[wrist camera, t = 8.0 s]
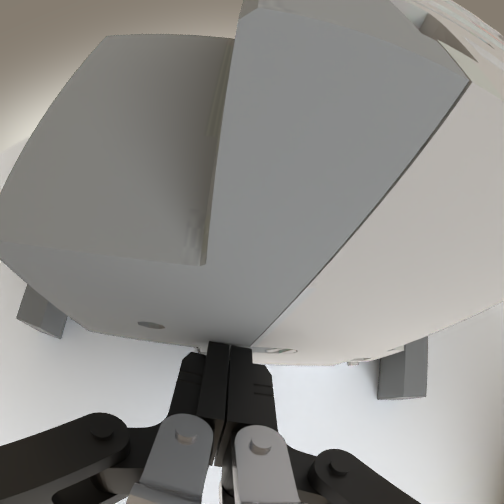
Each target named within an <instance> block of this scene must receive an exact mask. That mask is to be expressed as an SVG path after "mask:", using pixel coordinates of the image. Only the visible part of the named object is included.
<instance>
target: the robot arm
mask: <svg viewBox="0 0 504 504" xmlns="http://www.w3.org/2000/svg"><path fill="white" fill-rule="evenodd" d="M229 348H230V350H229ZM272 387H273V384H272V375H271V374H270V372H269V371H268V369H267V368H266V366H265V365H261V364H255V363H253V359H252V349H251V348H245V347H239V346H233V345H231V346H230V345H228V344H222V343H217V342H211V341H209V343H208V348H207V353H206V355H204V354H199V353H194V352H190V353H189V354H188V355H187V356H186V357H185V358H184V359H183V360H182V364H181V367H180V372H179V375H178V379H177V382H176V386H175V390H174V394H173V398H172V402H171V405H170V409H169V413H168V415H167V417H166V418H165V419H164V420H163V421H162V422H161V423H159V424H157V425H155V426H152V427H147V428H127V426H126V425H125V423H124V422H123V421H122V420H120V419H119V418H118V417H116V416H114V415H111V414H107V413H92V414H88V415H86V416H83V417H81V418H78V419H76V420H73V421H71V422H68V423H65V424H63V425H60V426H58V427H55V428H52V429H50V430H47V431H44V432H41V433H38V434H36V435H33V436H30V437H27V438H24V439H21V440H18V441H15V442H12V443H9V444H6V445H3V446H0V504H115V503H116V502H118V501H120V500H122V499H124V498H126V497H127V496H128V499H127V502H126V504H201V501H202V500H201V498H202V493H203V488H204V483H205V478H206V474H207V471H208V467H209V465H211V466H212V464H213V460H214V457H215V462H214V466H219V467H222V478H221V481H220V484H219V504H421V503H419V502H418V501H416V500H415V499H413V498H412V497H410V496H409V495H407V494H406V493H404V492H403V491H401V490H400V489H399V488H397V487H396V486H394V485H393V484H391V483H390V482H389V481H387V480H386V479H384V478H383V477H382V476H380V475H379V474H377V473H376V472H375V471H373V470H372V469H371V468H369V467H368V466H367V465H365V464H364V463H363V462H361V461H360V460H359V459H357V458H356V457H355V456H353V455H352V454H350V453H348V452H346V451H343V450H339V449H329V450H326V451H323V452H321V453H320V454H319V455H318V456H313V455H310V454H307V453H303V452H300V451H297V450H295V449H293V448H291V447H290V446H288V445H287V444H286V442H285V440H284V438H283V437H282V436H281V435H280V434H279V433H278V429H277V420H276V411H275V402H274V397H273V396H274V393H273V388H272Z"/></svg>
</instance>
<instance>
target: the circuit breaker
mask: <svg viewBox="0 0 504 504" xmlns="http://www.w3.org/2000/svg"><path fill="white" fill-rule="evenodd" d="M0 260H1V261H3V262H4V263H5V264H6V265H7V266H8V267H9V268H10V269H11V270H12V271H14V272H15V273H16V274H17V275H18V276H19V277H20V278H21V279H23V280H24V281H25V282H26V283H27V284H28V285H30V286H31V287H32V288H33V289H34V290H36V291H37V292H38V293H39V294H40V295H42V296H43V297H44V298H45V299H47V300H48V301H49V302H50V303H52V304H53V305H54V306H55V307H57V308H58V309H59V310H61V311H62V312H63V313H65V314H66V315H67V316H69V317H70V318H71V319H73V320H74V321H75V322H77V323H78V324H79V325H81V326H82V327H84V328H85V329H86V330H88V331H91V332H96V333H101V334H107V335H113V336H119V337H125V338H131V339H137V340H144V341H151V342H158V343H165V344H173V345H181V346H190V347H199V349H200V354H204V355H206V353H207V348H208V343H209V341H211V342H217V343H222V344H228V345H230V346H231V345H233V346H239V347H245V348H251V349H252V359H253V363H255V364H268V365H295V366H334V365H338V364H341V363H344V362H348V366H356V365H359V363H358V362H369V361H373V360H376V359H379V358H382V357H386V356H389V355H392V354H395V353H398V352H401V351H404V345H405V344H407V343H410V342H413V341H415V340H418V339H421V338H423V337H426V336H428V335H431V334H433V333H436V332H438V331H440V330H443V329H445V328H448V327H450V326H452V325H455V324H457V323H459V322H461V321H464V320H466V319H468V318H470V317H473V316H475V315H477V314H479V313H481V312H483V311H485V310H487V309H489V308H491V307H493V306H495V305H497V304H499V303H501V302H503V301H504V37H503V36H502V35H501V34H500V33H499V32H498V31H497V30H495V29H494V28H491V27H490V26H489V25H487V24H486V23H484V22H483V21H482V20H480V19H479V18H478V17H477V16H475V15H474V14H472V13H471V12H469V11H468V10H466V9H464V8H463V7H461V6H460V5H458V4H456V3H455V2H453V1H452V0H243V4H242V8H241V12H240V15H239V20H238V25H237V30H236V36H235V39H231V38H222V37H210V36H197V35H174V34H135V35H116V36H115V35H114V36H106V37H105V38H104V39H103V40H102V41H101V42H100V43H99V45H98V46H97V47H96V48H95V49H94V50H93V51H92V52H91V54H90V55H89V56H88V57H87V58H86V60H85V61H84V62H83V63H82V65H81V66H80V67H79V68H78V69H77V70H76V72H75V73H74V74H73V76H72V77H71V78H70V80H69V81H68V82H67V83H66V85H65V86H64V87H63V89H62V90H61V92H60V93H59V94H58V96H57V97H56V98H55V100H54V101H53V103H52V104H51V106H50V107H49V109H48V110H47V112H46V113H45V115H44V116H43V118H42V119H41V121H40V122H39V124H38V125H37V127H36V129H35V130H34V132H33V133H32V135H31V137H30V138H29V140H28V142H27V143H26V145H25V147H24V149H23V150H22V152H21V154H20V156H19V158H18V159H17V161H16V163H15V165H14V167H13V169H12V171H11V173H10V175H9V177H8V179H7V181H6V183H5V185H4V187H3V189H2V191H1V193H0ZM229 350H230V348H229Z"/></svg>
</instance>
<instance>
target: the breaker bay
mask: <svg viewBox="0 0 504 504" xmlns="http://www.w3.org/2000/svg"><path fill="white" fill-rule="evenodd" d="M17 319H18V320H20V321H22V322H24V323H25V324H27V325H29V326H31V327H33V328H34V329H36V330H38V331H40V332H43V333H46V334H48V335H51V336H54V337H56V338H59V339H61V336H62V333H63V329H64V326H65V322H66V319H67V315H66V314H65V313H63V312H62V311H61V310H59V309H58V308H57V307H55V306H54V305H53V304H52V303H50V302H49V301H48V300H47V299H45V298H44V297H43V296H42V295H40V294H39V293H38V292H37V291H36V290H34V289H33V288H32V287H31V286H30V285H28V284H27V287H26V290H25V293H24V296H23V299H22V302H21V305H20V308H19V311H18V314H17ZM427 363H428V336H426V337H423V338H421V339H418V340H415V341H413V342H410V343H407V344H405V345H404V351H401V352H398V353H395V354H392V355H389V356H386V357H382V358H380V374H379V387H378V400H403V399H412V398H420V397H426V389H427Z"/></svg>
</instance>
